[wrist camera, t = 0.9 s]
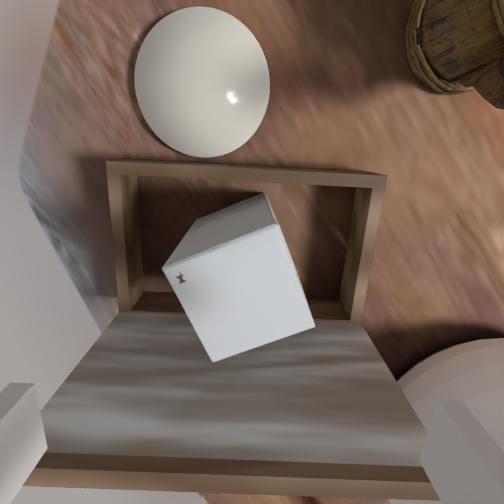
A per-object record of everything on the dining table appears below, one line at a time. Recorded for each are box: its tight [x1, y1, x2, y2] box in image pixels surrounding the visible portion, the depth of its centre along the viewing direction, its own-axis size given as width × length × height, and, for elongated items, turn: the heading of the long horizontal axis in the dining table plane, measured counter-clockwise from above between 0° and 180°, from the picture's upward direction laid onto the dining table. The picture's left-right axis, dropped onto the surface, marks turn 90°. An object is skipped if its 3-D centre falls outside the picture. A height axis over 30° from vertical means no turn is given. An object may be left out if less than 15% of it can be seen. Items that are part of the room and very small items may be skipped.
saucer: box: [134, 7, 270, 157], centre depth 26 cm, size 11×11×1 cm
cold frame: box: [22, 159, 441, 501], centre depth 22 cm, size 14×22×19 cm, turn 87°
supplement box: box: [162, 193, 315, 362], centre depth 25 cm, size 7×7×13 cm
